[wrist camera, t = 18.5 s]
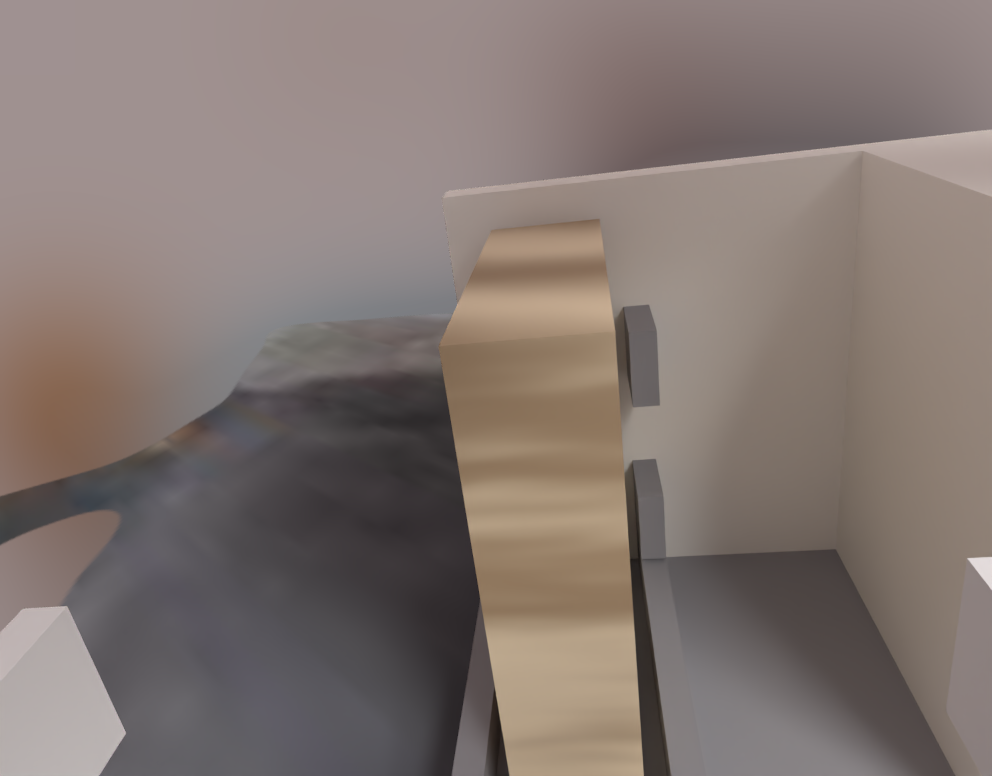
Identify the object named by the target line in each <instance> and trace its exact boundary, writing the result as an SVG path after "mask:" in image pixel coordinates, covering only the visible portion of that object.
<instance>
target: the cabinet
mask: <svg viewBox="0 0 992 776" xmlns="http://www.w3.org/2000/svg"><path fill="white" fill-rule="evenodd" d="M442 204H443V211H444V218H445V224H446V231H447V238H448V244H449V251H450V257H451V264H452V271H453V278H454V284H455V291H456V297H457V304H458V302H459V300H460V298H461V296H462V294H463V291H464V289H465V287H466V285H467V283H468V280H469V278H470V276H471V274H472V272H473V269H474V267H475V265H476V263H477V261H478V258H479V256H480V254H481V252H482V250H483V247H484V245H485V243H486V241H487V239H488V236H489V234H490V232H491V230H496V229H506V228H516V227H525V226H535V225H545V224H554V223H564V222H573V221H583V220H593V219H600V226H601V233H602V240H603V248H604V255H605V262H606V269H607V276H608V283H609V290H610V298H611V305H612V312H613V319H614V326H615V336H616V351H617V367H618V382H619V398H620V414H621V429H622V445H623V460H624V476H625V491H626V507H627V522H628V538H629V553H630V569H631V584H632V600H633V615H634V631H635V646H636V662H637V677H638V693H639V708H640V724H641V739H642V755H643V771H644V776H982V774H981V773H980V771H979V769H978V767H977V766H976V764H975V762H974V760H973V758H972V757H971V755H970V753H969V751H968V749H967V748H966V746H965V744H964V742H963V741H962V739H961V737H960V735H959V733H958V732H957V730H956V728H955V726H954V725H953V723H952V721H951V719H950V717H949V716H948V714H947V712H946V704H947V697H948V690H949V683H950V676H951V669H952V662H953V655H954V648H955V641H956V634H957V627H958V620H959V613H960V606H961V599H962V591H963V584H964V577H965V570H966V563H967V558H980V557H992V130H983V131H975V132H967V133H957V134H949V135H940V136H930V137H922V138H913V139H905V140H895V141H887V142H877V143H868V144H860V145H851V146H842V147H834V148H825V149H815V150H807V151H798V152H789V153H780V154H771V155H762V156H753V157H745V158H737V159H727V160H719V161H709V162H701V163H693V164H683V165H674V166H665V167H657V168H648V169H638V170H631V171H621V172H612V173H604V174H594V175H586V176H576V177H568V178H559V179H550V180H541V181H532V182H524V183H515V184H506V185H497V186H488V187H480V188H470V189H461V190H453V191H447V192H446V193H445V194H444V196H443V197H442ZM452 776H509V770H508V764H507V758H506V751H505V745H504V739H503V733H502V727H501V721H500V715H499V709H498V703H497V697H496V691H495V685H494V679H493V673H492V667H491V661H490V654H489V648H488V642H487V636H486V630H485V624H484V618H483V612H482V606H481V600H480V603H479V610H478V616H477V622H476V628H475V634H474V640H473V647H472V653H471V659H470V665H469V671H468V677H467V684H466V690H465V696H464V702H463V708H462V714H461V721H460V727H459V733H458V739H457V745H456V751H455V757H454V764H453V770H452Z"/></svg>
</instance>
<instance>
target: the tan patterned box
mask: <svg viewBox="0 0 992 776" xmlns="http://www.w3.org/2000/svg"><path fill="white" fill-rule="evenodd" d="M439 351H440V357H441V364H442V370H443V376H444V382H445V388H446V394H447V400H448V406H449V412H450V418H451V424H452V430H453V436H454V442H455V448H456V454H457V461H458V467H459V473H460V479H461V485H462V491H463V497H464V503H465V509H466V515H467V521H468V527H469V533H470V539H471V545H472V551H473V557H474V564H475V570H476V576H477V582H478V588H479V594H480V600H481V606H482V612H483V618H484V624H485V630H486V636H487V642H488V648H489V654H490V661H491V667H492V673H493V679H494V685H495V691H496V697H497V703H498V709H499V715H500V721H501V727H502V733H503V739H504V745H505V751H506V758H507V764H508V770H509V776H644V771H643V755H642V739H641V724H640V708H639V693H638V677H637V662H636V646H635V631H634V615H633V600H632V584H631V569H630V553H629V538H628V522H627V507H626V491H625V476H624V460H623V445H622V429H621V414H620V398H619V382H618V367H617V351H616V336H615V326H614V319H613V312H612V305H611V298H610V290H609V283H608V276H607V269H606V262H605V255H604V248H603V240H602V233H601V226H600V219H593V220H583V221H573V222H564V223H554V224H545V225H535V226H525V227H516V228H506V229H496V230H491V232H490V234H489V236H488V239H487V241H486V243H485V245H484V247H483V250H482V252H481V254H480V256H479V258H478V261H477V263H476V265H475V267H474V269H473V272H472V274H471V276H470V278H469V280H468V283H467V285H466V287H465V289H464V291H463V294H462V296H461V298H460V300H459V302H458V305H457V307H456V309H455V311H454V313H453V316H452V318H451V320H450V322H449V324H448V327H447V329H446V331H445V333H444V335H443V338H442V340H441V342H440V344H439Z"/></svg>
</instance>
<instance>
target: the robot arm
mask: <svg viewBox="0 0 992 776" xmlns="http://www.w3.org/2000/svg"><path fill="white" fill-rule="evenodd" d="M946 712H947V714H948V716H949V717H950V719H951V721H952V723H953V725H954V726H955V728H956V730H957V732H958V733H959V735H960V737H961V739H962V741H963V742H964V744H965V746H966V748H967V749H968V751H969V753H970V755H971V757H972V758H973V760H974V762H975V764H976V766H977V767H978V769H979V771H980V773H981V774H982V776H992V557H980V558H967V563H966V570H965V577H964V584H963V591H962V599H961V606H960V613H959V620H958V627H957V634H956V641H955V648H954V655H953V662H952V669H951V676H950V683H949V690H948V697H947V704H946ZM125 734H126V732H125V730H124V728H123V725H122V723H121V721H120V719H119V717H118V715H117V713H116V710H115V708H114V706H113V704H112V702H111V700H110V697H109V695H108V693H107V691H106V689H105V687H104V684H103V682H102V680H101V678H100V676H99V674H98V672H97V669H96V667H95V665H94V663H93V661H92V659H91V656H90V654H89V652H88V650H87V648H86V646H85V644H84V641H83V639H82V637H81V635H80V633H79V631H78V628H77V626H76V624H75V622H74V620H73V618H72V616H71V613H70V611H69V609H68V607H67V606H62V607H44V608H24V609H22V610H21V611H20V612H19V613H18V614H17V615H16V616H15V617H14V619H13V620H12V621H11V622H10V623H9V624H8V625H7V626H6V627H5V628H4V629H3V630H2V631H1V632H0V776H99V775H100V773H101V772H102V770H103V769H104V767H105V765H106V764H107V762H108V761H109V759H110V758H111V756H112V755H113V753H114V751H115V750H116V748H117V747H118V745H119V744H120V742H121V740H122V739H123V737H124V736H125Z"/></svg>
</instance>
